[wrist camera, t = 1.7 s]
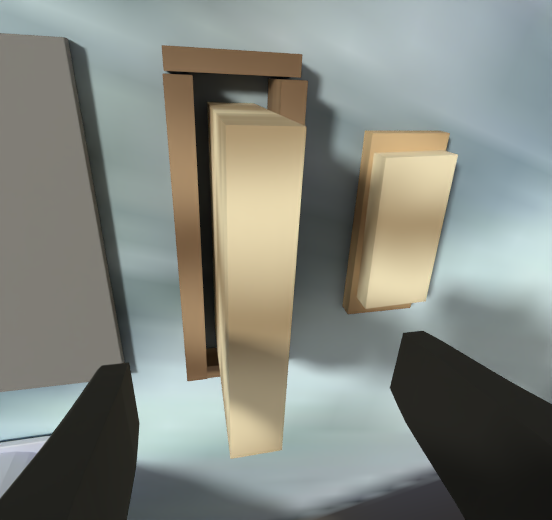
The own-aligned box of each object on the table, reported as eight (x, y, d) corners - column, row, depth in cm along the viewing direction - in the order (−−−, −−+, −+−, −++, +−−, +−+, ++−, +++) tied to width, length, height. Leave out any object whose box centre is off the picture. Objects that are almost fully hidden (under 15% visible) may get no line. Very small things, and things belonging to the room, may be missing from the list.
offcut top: (414, 290, 22) (425, 301, 21) (356, 297, 21) (365, 308, 20) (442, 150, 18) (457, 154, 17) (373, 152, 17) (385, 157, 16)
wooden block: (249, 327, 21) (281, 450, 15) (215, 331, 21) (230, 458, 14) (253, 103, 16) (306, 126, 9) (207, 101, 16) (225, 125, 9)
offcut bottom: (397, 294, 24) (410, 307, 22) (338, 300, 23) (347, 314, 21) (431, 128, 19) (449, 133, 18) (359, 128, 18) (372, 133, 17)
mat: (126, 369, 21) (124, 377, 20) (-40, 388, 19) (-46, 397, 19) (68, 38, 14) (63, 37, 13) (-203, 21, 12) (-220, 19, 12)
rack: (275, 351, 23) (285, 381, 20) (188, 361, 21) (188, 394, 19) (292, 56, 16) (310, 53, 13) (163, 47, 14) (160, 43, 12)
